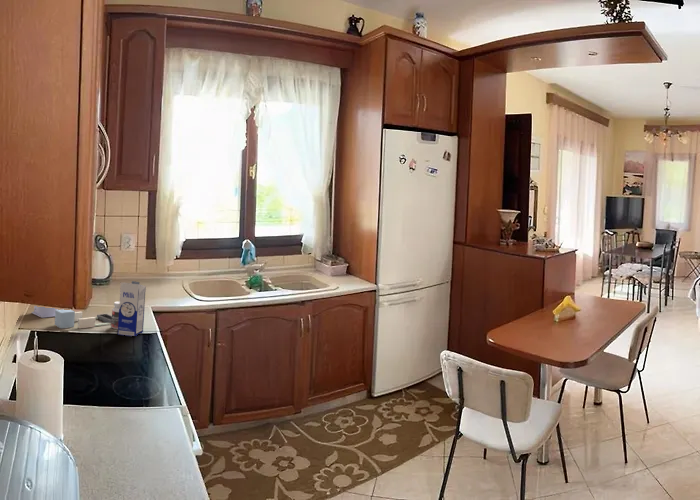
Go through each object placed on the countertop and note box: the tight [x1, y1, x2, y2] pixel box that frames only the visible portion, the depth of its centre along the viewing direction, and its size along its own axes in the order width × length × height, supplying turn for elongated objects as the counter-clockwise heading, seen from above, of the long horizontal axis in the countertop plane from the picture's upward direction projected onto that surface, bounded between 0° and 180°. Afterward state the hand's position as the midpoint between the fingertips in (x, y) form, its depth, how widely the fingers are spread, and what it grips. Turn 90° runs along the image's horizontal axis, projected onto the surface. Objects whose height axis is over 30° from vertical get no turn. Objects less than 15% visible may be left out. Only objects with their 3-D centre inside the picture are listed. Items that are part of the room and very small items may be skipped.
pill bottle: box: [110, 300, 120, 330], centre depth 225 cm, size 6×6×10 cm
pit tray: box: [96, 313, 112, 323], centre depth 233 cm, size 11×4×2 cm, turn 51°
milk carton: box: [117, 280, 147, 337], centre depth 217 cm, size 7×7×20 cm
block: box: [54, 308, 76, 329], centre depth 220 cm, size 5×5×6 cm
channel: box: [74, 311, 111, 329], centre depth 227 cm, size 11×12×4 cm
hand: (43, 303), depth 213 cm, fingers open, 4 cm apart
